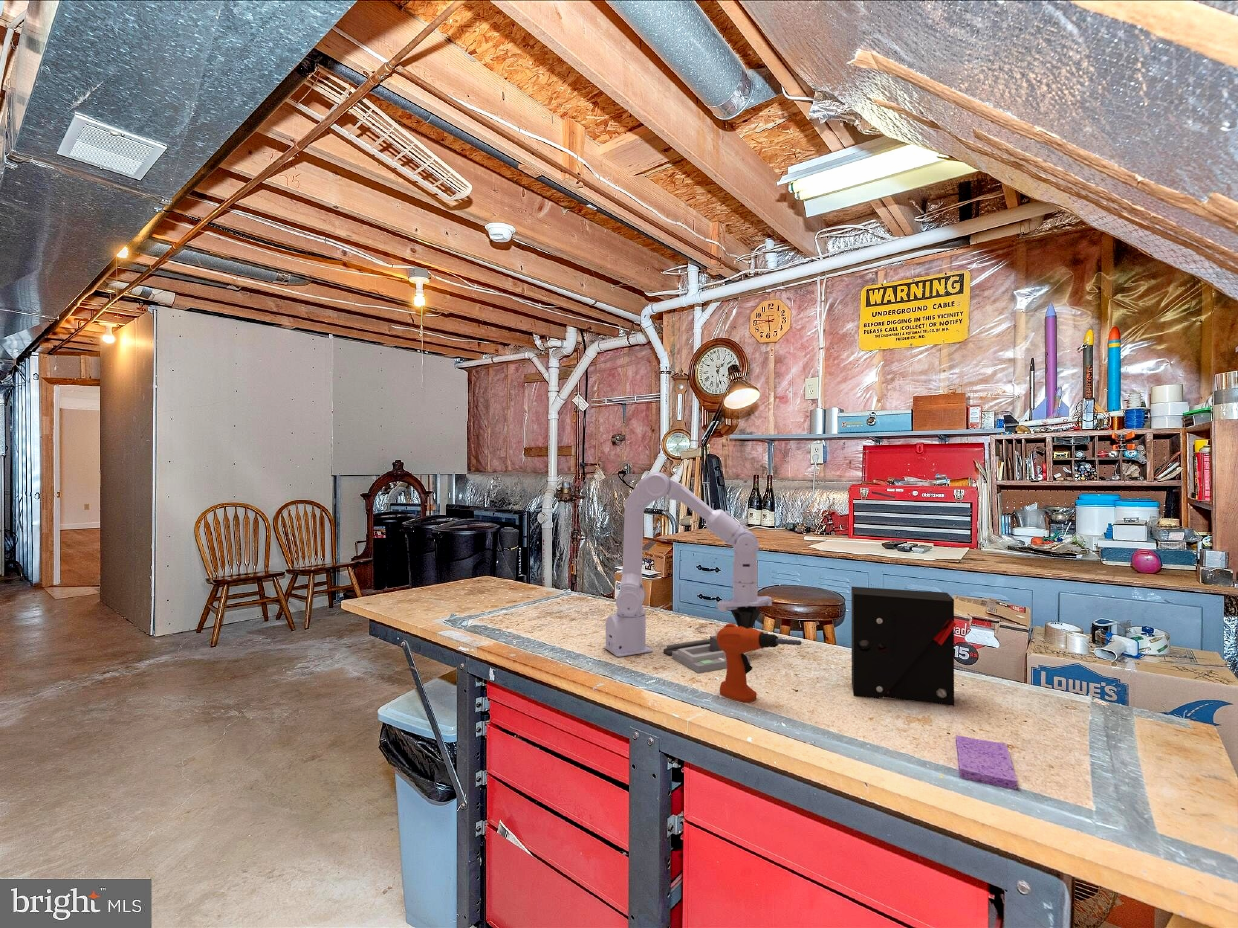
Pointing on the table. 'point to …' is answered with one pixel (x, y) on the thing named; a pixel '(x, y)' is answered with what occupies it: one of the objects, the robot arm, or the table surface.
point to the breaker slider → (714, 643)
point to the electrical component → (903, 645)
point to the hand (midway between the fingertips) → (745, 638)
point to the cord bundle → (685, 645)
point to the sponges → (985, 762)
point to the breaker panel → (701, 658)
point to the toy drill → (743, 657)
